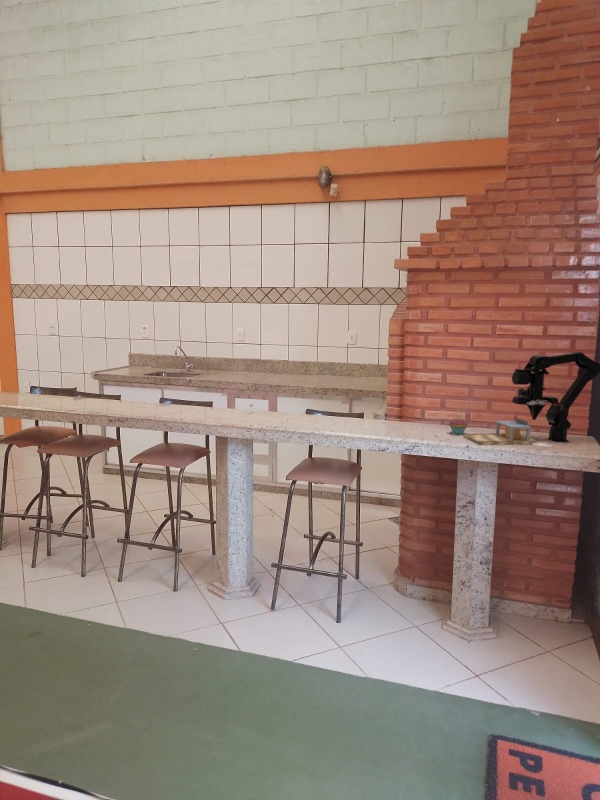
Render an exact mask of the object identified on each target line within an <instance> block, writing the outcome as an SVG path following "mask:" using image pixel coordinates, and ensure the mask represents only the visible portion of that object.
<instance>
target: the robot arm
mask: <svg viewBox="0 0 600 800" xmlns="http://www.w3.org/2000/svg"><path fill="white" fill-rule="evenodd" d="M567 363H575V365H576V367H578V370H577V377H575V380H574V381H573V382H572V384H571V386H570V387H569V388H568V389H567V390H566V393H564V395H563V397H562V398H561V399H560V401H559V398H558V397H555V396H551V395H549V396H548V395H547V396H544V391H545V390H546V387H544V383H545V375H546V376H548V375H550V372H549V371H548V370H547V369H548V368H551V367H552V366H555V365H562V364H567ZM514 370H515V371H514V372H513V373H512V376H511V382H512V383H513V385H516V386H517V385H522V386H523V385H524V386H525V385H528V386H527V388H526V389H524V388H518V391H517V395H518V396H513V397H512V400H511V401H512V403H513V404H516V405H523V406H524V405H525V406H527V408H528V410H529V412H530V417H531V419H532V420H533V421H535V420H537V417H538V416H539V415H540V413H541V411H542V410H543V409H544V407H546V406H547V405H546V404H545V403H550V404H551V405H549V408H548V409H547V410H546V414H545V418H546V421H547V422H548V425H549V426H550V429H549V431H548V437H547V440H548V441H553V442H555V443H559V442H562V443H563V442H569V440H568V439H567V437H568V429H570V428H571V426H572V423H571V422H570V421H569V420H568V417H569V412H570V408H571V407H572V405H573V404H574V403H575V401H576V400H577V398H578V397H579V396H580V394H581V392H582V391H583V390H584V388H585V387H586V385H587V384H588V383H589V382H591V381H593V379H595V378H597V376H598V375H600V363H599V362H596V361H594V359H592V358H590V357H589V356H587V355H586V354H585V353H583V352H581V351H573V352H568V353H561V354H554V355H532V356H530V358H529V360H528V362H527V364H526V365H525V366H524V367H523V369H519V368H515V369H514Z"/></svg>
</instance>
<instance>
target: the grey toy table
mask: <svg viewBox="0 0 600 800" xmlns="http://www.w3.org/2000/svg"><path fill="white" fill-rule="evenodd" d="M528 423H529V421H526V420H524V419H522V418H519V417H518V418H515V420H496V421H495V424H496V425H495V434H496V435H499V434H500V427H501V426H503V427H509V428H510V431H509V440H513V429H520V430H521V429H524V430H525V429H526V430H525V431H526V432H525V436H526V440H530V438H531V429H532V426H530V425H528ZM500 425H501V426H500Z"/></svg>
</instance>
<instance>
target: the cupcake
mask: <svg viewBox="0 0 600 800" xmlns="http://www.w3.org/2000/svg"><path fill="white" fill-rule="evenodd" d="M448 426H449V427H450V429H451V432H452V435H455V436H456V435H459V436H460V435H461V436H462V435H464V434H465V430H466V429H467V428H468V427H469V422H468V421H467V420H465V419H461V418H460V408H457V418H453V419H452V420H450V421H449V424H448Z"/></svg>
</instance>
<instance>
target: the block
mask: <svg viewBox="0 0 600 800" xmlns="http://www.w3.org/2000/svg"><path fill="white" fill-rule="evenodd" d="M504 427H505V429H504V433H505V438H507V439H509V431H510V428H509V427H506V426H504ZM520 433H521V429H513V439H520Z"/></svg>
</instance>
